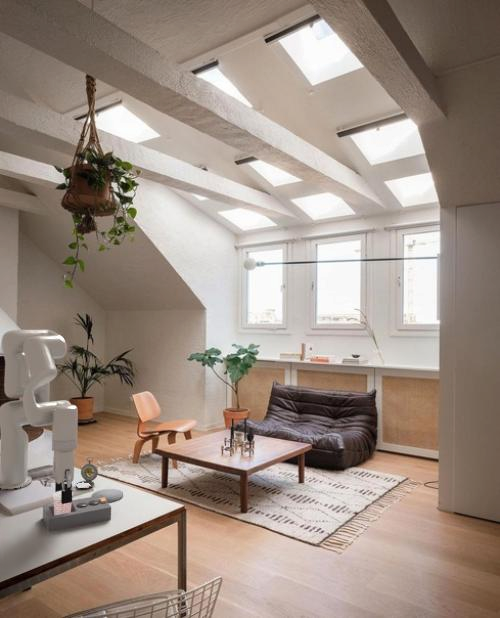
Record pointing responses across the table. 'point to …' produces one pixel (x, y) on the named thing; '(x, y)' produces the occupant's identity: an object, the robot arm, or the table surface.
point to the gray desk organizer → (78, 513)
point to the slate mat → (109, 494)
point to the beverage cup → (60, 504)
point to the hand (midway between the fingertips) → (63, 497)
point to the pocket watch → (89, 473)
